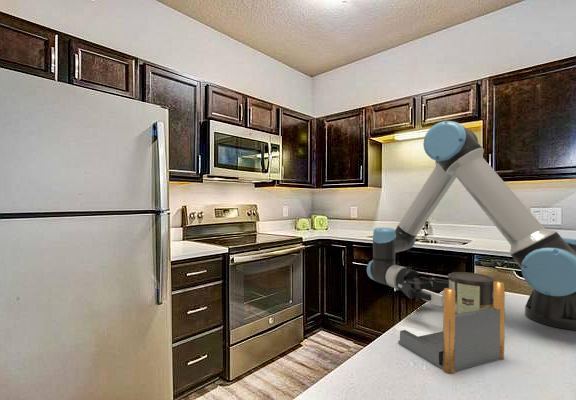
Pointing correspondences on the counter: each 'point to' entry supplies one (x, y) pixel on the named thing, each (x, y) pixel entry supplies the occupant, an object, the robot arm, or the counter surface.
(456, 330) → the keeper bracket
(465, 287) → the coffee can
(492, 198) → the robot arm
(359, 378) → the counter surface
